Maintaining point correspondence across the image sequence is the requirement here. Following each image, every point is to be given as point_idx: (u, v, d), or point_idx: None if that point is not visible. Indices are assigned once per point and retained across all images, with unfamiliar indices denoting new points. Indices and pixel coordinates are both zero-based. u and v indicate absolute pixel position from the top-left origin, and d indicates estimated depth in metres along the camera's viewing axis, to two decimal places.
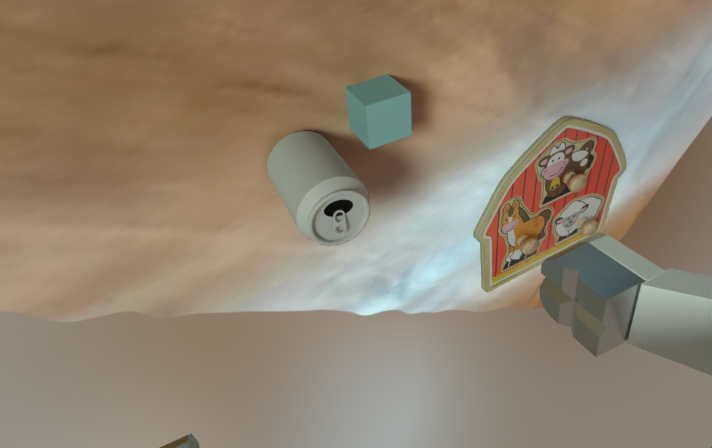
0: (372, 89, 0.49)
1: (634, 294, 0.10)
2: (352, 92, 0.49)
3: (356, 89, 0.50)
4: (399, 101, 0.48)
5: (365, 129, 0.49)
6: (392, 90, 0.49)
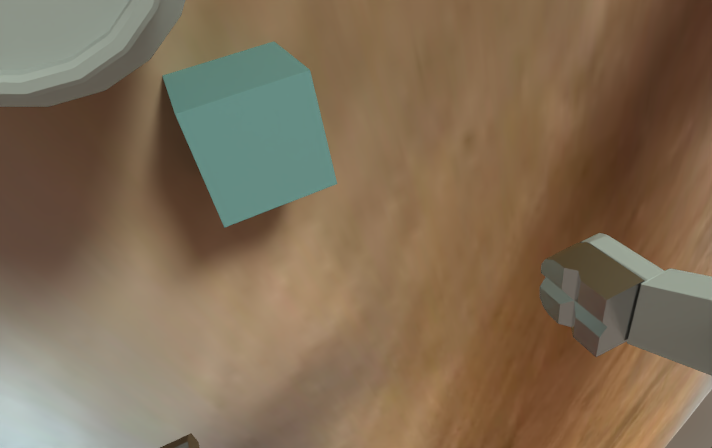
0: None
1: (634, 294, 0.10)
2: None
3: None
4: (316, 163, 0.20)
5: (231, 89, 0.17)
6: None
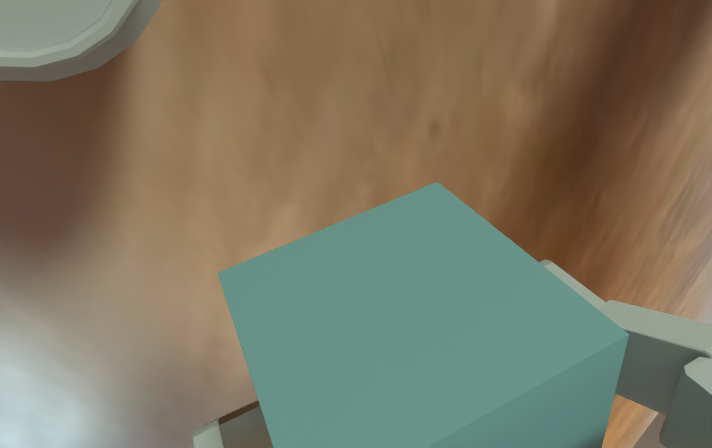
0: None
1: None
2: None
3: None
4: None
5: (429, 397, 0.07)
6: None
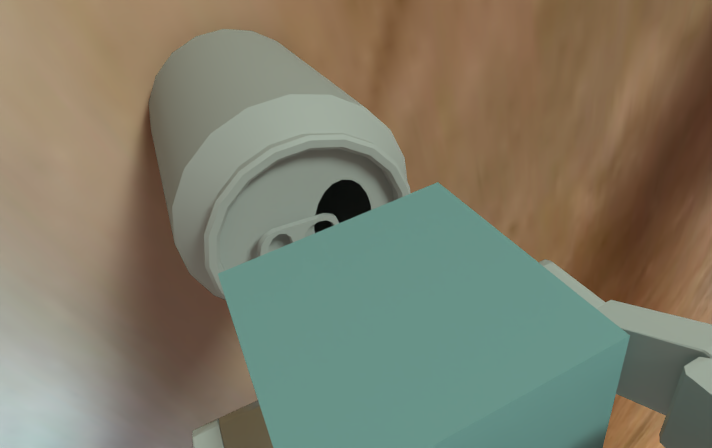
0: None
1: None
2: None
3: None
4: None
5: (429, 398, 0.07)
6: None
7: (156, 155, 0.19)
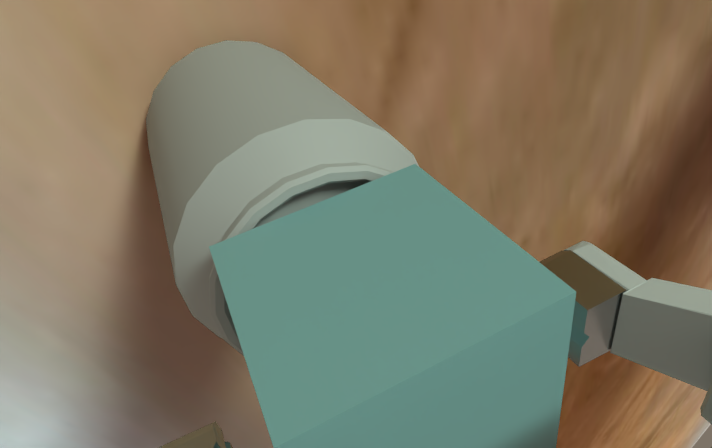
0: None
1: (616, 304, 0.09)
2: None
3: None
4: (533, 437, 0.10)
5: (395, 347, 0.07)
6: None
7: None
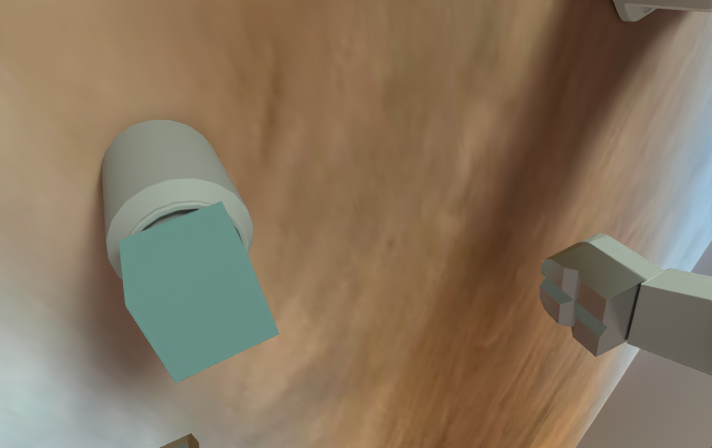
0: None
1: (634, 294, 0.10)
2: (229, 218, 0.23)
3: None
4: (258, 321, 0.22)
5: (177, 274, 0.20)
6: None
7: None
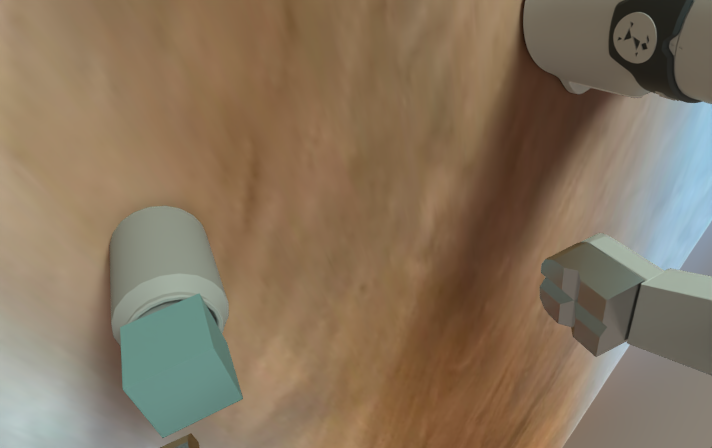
0: (217, 338, 0.30)
1: (634, 294, 0.10)
2: (204, 310, 0.29)
3: (207, 313, 0.30)
4: (225, 391, 0.29)
5: (161, 363, 0.27)
6: (231, 369, 0.30)
7: None
